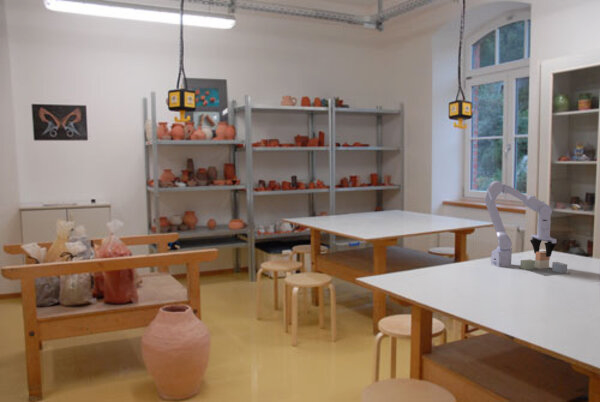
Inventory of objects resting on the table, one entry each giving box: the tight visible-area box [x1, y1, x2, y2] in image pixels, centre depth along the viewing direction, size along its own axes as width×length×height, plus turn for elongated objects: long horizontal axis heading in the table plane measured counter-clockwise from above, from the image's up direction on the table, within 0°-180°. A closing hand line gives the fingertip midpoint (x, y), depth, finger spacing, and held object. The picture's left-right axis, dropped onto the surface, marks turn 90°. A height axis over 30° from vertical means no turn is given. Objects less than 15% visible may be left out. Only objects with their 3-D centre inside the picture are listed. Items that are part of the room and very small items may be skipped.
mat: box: [519, 267, 571, 277], centre depth 242 cm, size 15×17×1 cm
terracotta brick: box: [534, 250, 550, 261], centre depth 248 cm, size 6×3×4 cm, turn 108°
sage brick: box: [519, 259, 535, 270], centre depth 247 cm, size 6×3×4 cm, turn 108°
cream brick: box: [534, 260, 550, 269], centre depth 248 cm, size 6×3×4 cm, turn 108°
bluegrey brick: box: [551, 261, 568, 273], centre depth 240 cm, size 6×3×4 cm, turn 18°
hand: (542, 255), depth 248 cm, fingers open, 7 cm apart
